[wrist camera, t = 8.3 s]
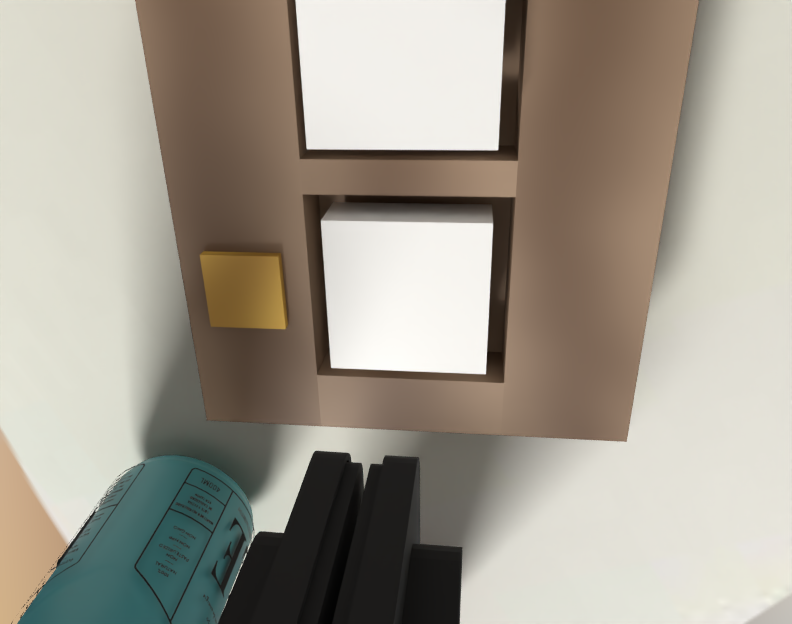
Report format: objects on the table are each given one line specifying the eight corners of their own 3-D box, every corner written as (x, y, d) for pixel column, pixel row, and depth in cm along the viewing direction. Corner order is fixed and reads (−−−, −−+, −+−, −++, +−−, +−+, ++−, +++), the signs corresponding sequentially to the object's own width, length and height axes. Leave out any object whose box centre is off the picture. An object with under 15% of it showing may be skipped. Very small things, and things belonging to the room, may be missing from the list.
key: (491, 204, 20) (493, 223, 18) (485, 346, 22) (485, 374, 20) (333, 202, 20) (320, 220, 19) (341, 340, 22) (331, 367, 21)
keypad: (728, -551, 15) (831, -771, 11) (602, 370, 25) (628, 447, 21) (135, -491, 16) (14, -662, 12) (247, 355, 27) (203, 425, 23)
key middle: (505, -69, 16) (509, -76, 14) (495, 136, 18) (498, 150, 16) (308, -63, 16) (290, -69, 15) (321, 135, 18) (306, 149, 17)
